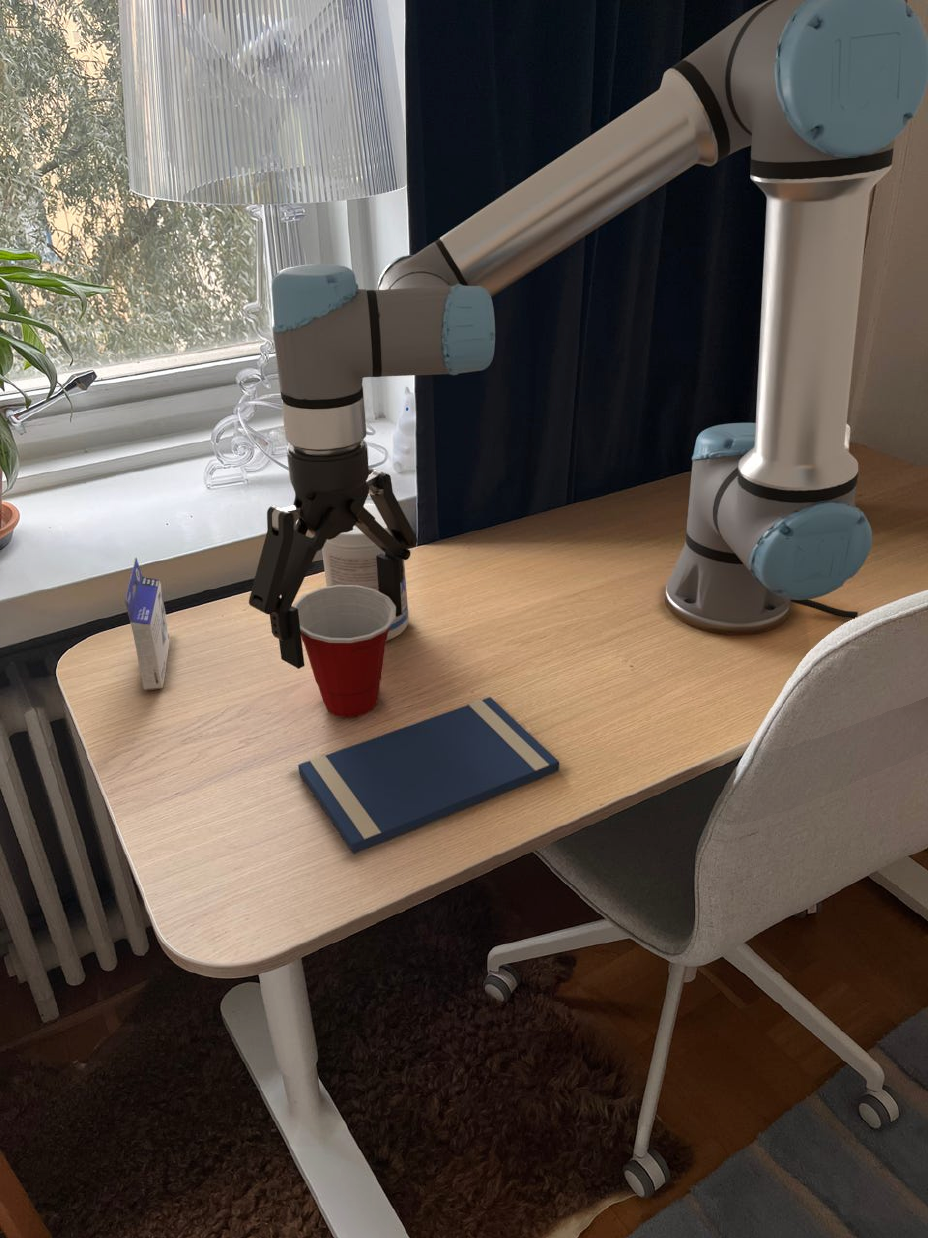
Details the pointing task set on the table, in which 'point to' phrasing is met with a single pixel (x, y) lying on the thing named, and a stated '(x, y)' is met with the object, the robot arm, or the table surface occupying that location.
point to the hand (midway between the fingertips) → (344, 636)
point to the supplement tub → (360, 565)
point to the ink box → (148, 627)
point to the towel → (424, 772)
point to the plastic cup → (346, 644)
